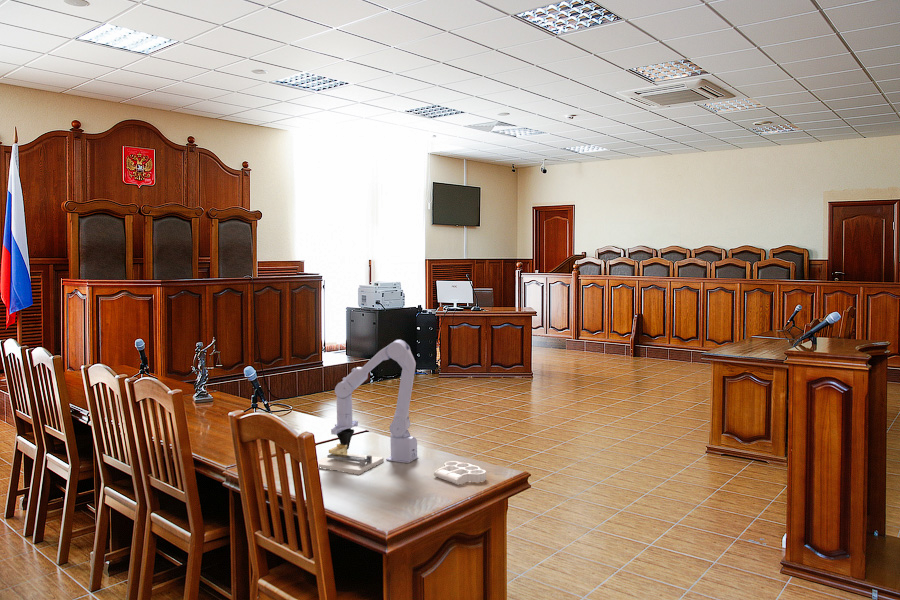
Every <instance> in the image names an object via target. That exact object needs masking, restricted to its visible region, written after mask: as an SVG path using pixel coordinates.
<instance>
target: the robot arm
mask: <svg viewBox="0 0 900 600" xmlns="http://www.w3.org/2000/svg"><path fill="white" fill-rule="evenodd" d="M390 359H392V360H393V361H395V362H397V364H398V365H399V366H400V368H401V369H402V370H401V375H400V379H399V380H400V381H399V386H398V394H397V401H396V405H395V406H396V407H395V410H394V414H393V420H392V422H391V423H390V425H389V432H390V434H389V435H390V437H389V438H390V456H389V457H387V458H386V459H385V460H386V461H389V462H398V463H404V464H409V463H411V462H413V461H414V460H416V459H418V458H419V456H418V440H417V437H415V436H412V435H411V432H410V431H409V428H410V426H411V420H410V404H411V399H412V398H411V397H412V392H413V386H414V385H413V384H414V379H415V373H416V368H417V367H416V365H417V362H416V360H415V357H414V355H413V353H412V351H411V347H410V345H409V344H408V343H407V342H406V341H405V340H402V339H395V340H394V341H393V342H391V343H389V344H388V345H387V346H385V347H383V348H382V349H380V350H379V351H378V352H376V354H374V356H373V357H371V358H370V359H369V360H368V362H366V363H365V364H364V365H363V366H357V367H354V368H352V369H351V370H350V371H351V372H349V374H348V375H346V377H345V376H344V377H343V378H342V381H340V382H338V383H337V384H336V386H335V387H334V393H335V395H336V423H335V424H334V427H332V428H331V429H330V435H335V436H337V438H338V440H339V442H340V444H347V451H348V450H349V448H350V443H351V440H352V437H353V435H354V433H355V430H354V427H358V426H359V421H358V420H353V400H352V399H353V395H352V394H353V392H354V390H356V389H357V388H359V387H360V386H361V385H362V384H363V383H364V382H365V381H367V380H368V378H369V373H370V372H371V371H372V370H373V369H375V368H376V367H377V366H378V365H379V364H381V363H382V362H383V361H387V360H390Z"/></svg>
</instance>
